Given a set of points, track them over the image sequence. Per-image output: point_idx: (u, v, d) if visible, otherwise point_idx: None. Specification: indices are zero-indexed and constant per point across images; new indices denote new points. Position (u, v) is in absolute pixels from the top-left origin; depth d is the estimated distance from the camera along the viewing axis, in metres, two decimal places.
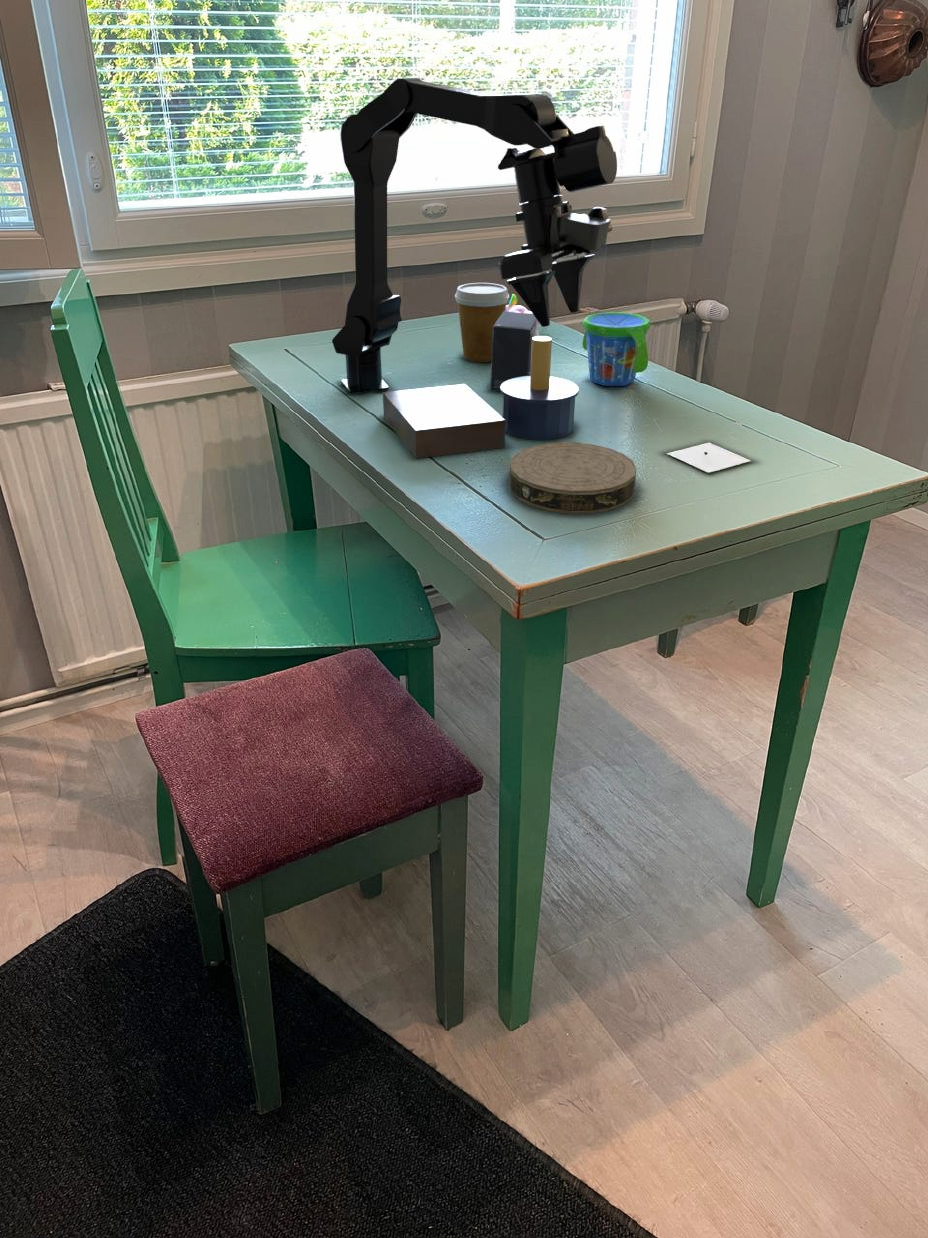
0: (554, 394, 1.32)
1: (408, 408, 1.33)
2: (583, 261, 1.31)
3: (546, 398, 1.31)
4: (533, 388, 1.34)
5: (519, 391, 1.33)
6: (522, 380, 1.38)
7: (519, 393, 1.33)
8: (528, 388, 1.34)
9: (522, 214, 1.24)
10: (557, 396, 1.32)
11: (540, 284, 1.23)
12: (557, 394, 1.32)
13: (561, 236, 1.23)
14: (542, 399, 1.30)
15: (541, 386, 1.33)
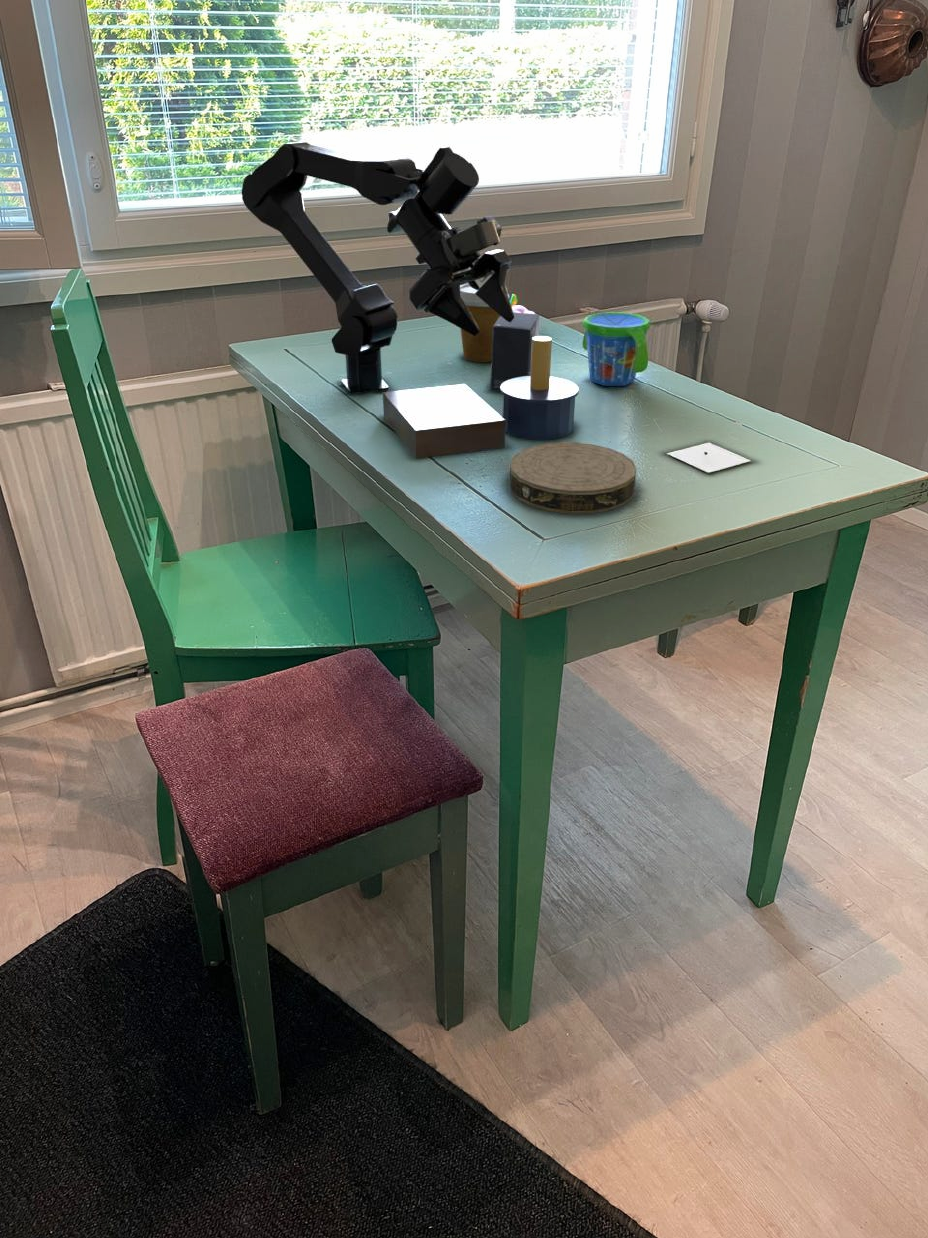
0: (554, 394, 1.32)
1: (408, 408, 1.33)
2: (498, 272, 1.36)
3: (546, 398, 1.31)
4: (533, 388, 1.34)
5: (519, 391, 1.33)
6: (522, 380, 1.38)
7: (519, 393, 1.33)
8: (528, 388, 1.34)
9: (420, 255, 1.34)
10: (557, 396, 1.32)
11: (451, 297, 1.29)
12: (557, 394, 1.32)
13: (455, 252, 1.30)
14: (542, 399, 1.30)
15: (541, 386, 1.33)
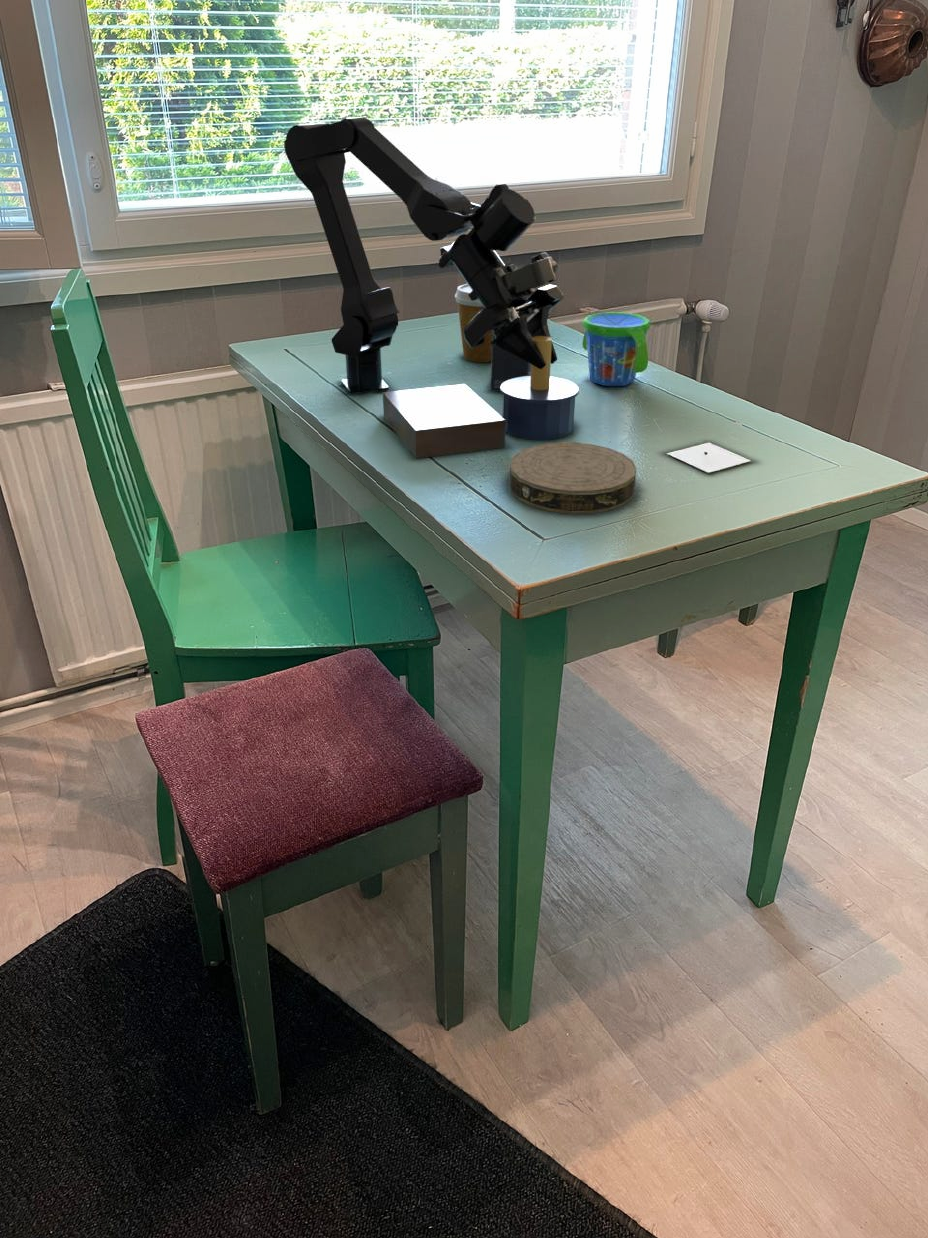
0: (554, 394, 1.32)
1: (408, 408, 1.33)
2: (540, 313, 1.32)
3: (546, 398, 1.31)
4: (533, 388, 1.34)
5: (519, 391, 1.33)
6: (522, 380, 1.38)
7: (519, 393, 1.33)
8: (528, 388, 1.35)
9: (473, 292, 1.31)
10: (557, 396, 1.32)
11: (518, 331, 1.29)
12: (557, 394, 1.32)
13: (510, 289, 1.28)
14: (542, 399, 1.30)
15: (541, 386, 1.33)
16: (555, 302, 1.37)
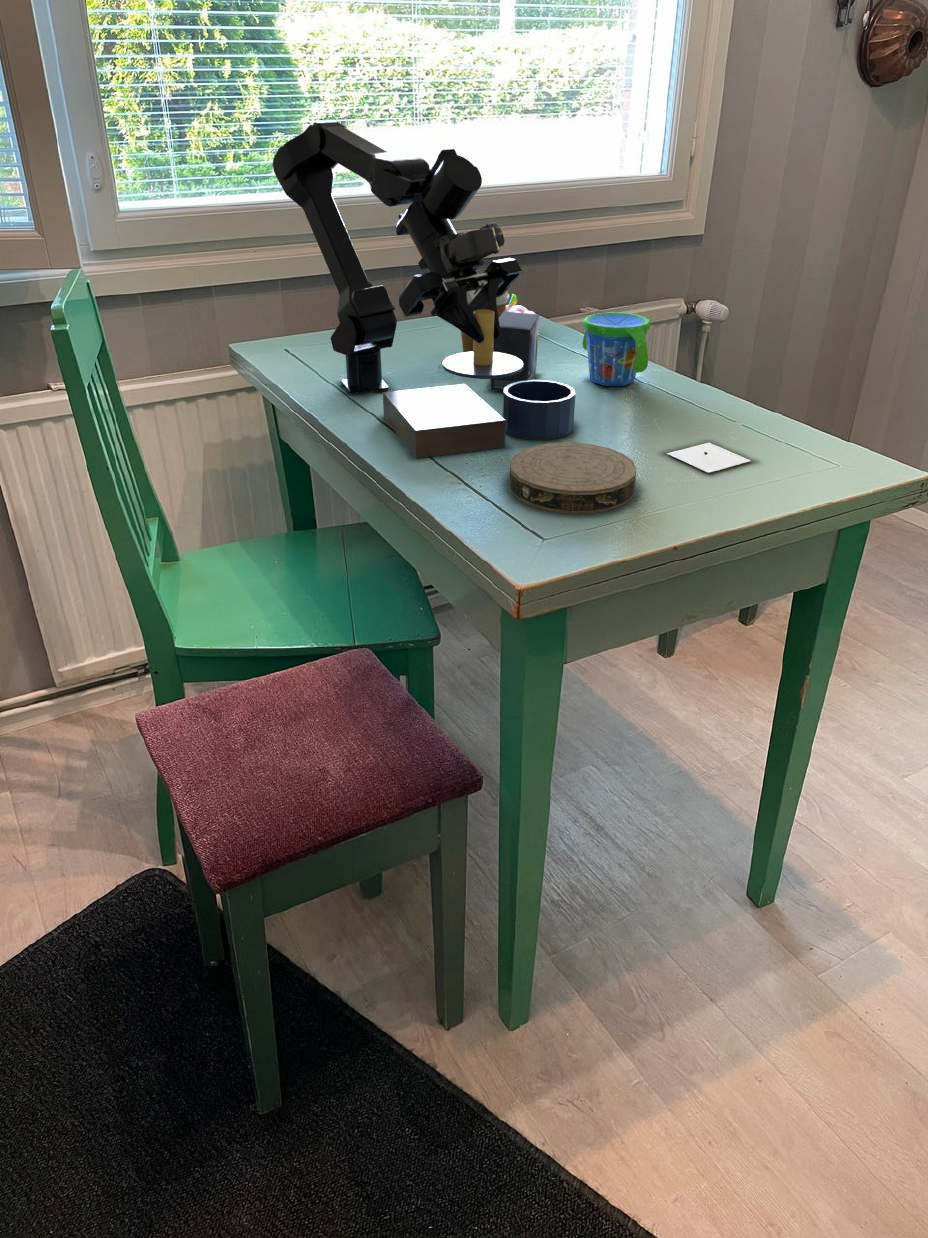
0: (491, 370, 1.28)
1: (408, 408, 1.33)
2: (487, 285, 1.28)
3: (480, 373, 1.27)
4: (474, 363, 1.30)
5: (459, 365, 1.30)
6: (472, 355, 1.34)
7: (457, 366, 1.29)
8: (470, 362, 1.31)
9: (422, 260, 1.29)
10: (492, 372, 1.27)
11: (456, 302, 1.26)
12: (494, 370, 1.28)
13: (451, 258, 1.25)
14: (475, 374, 1.26)
15: (482, 361, 1.30)
16: (514, 276, 1.33)
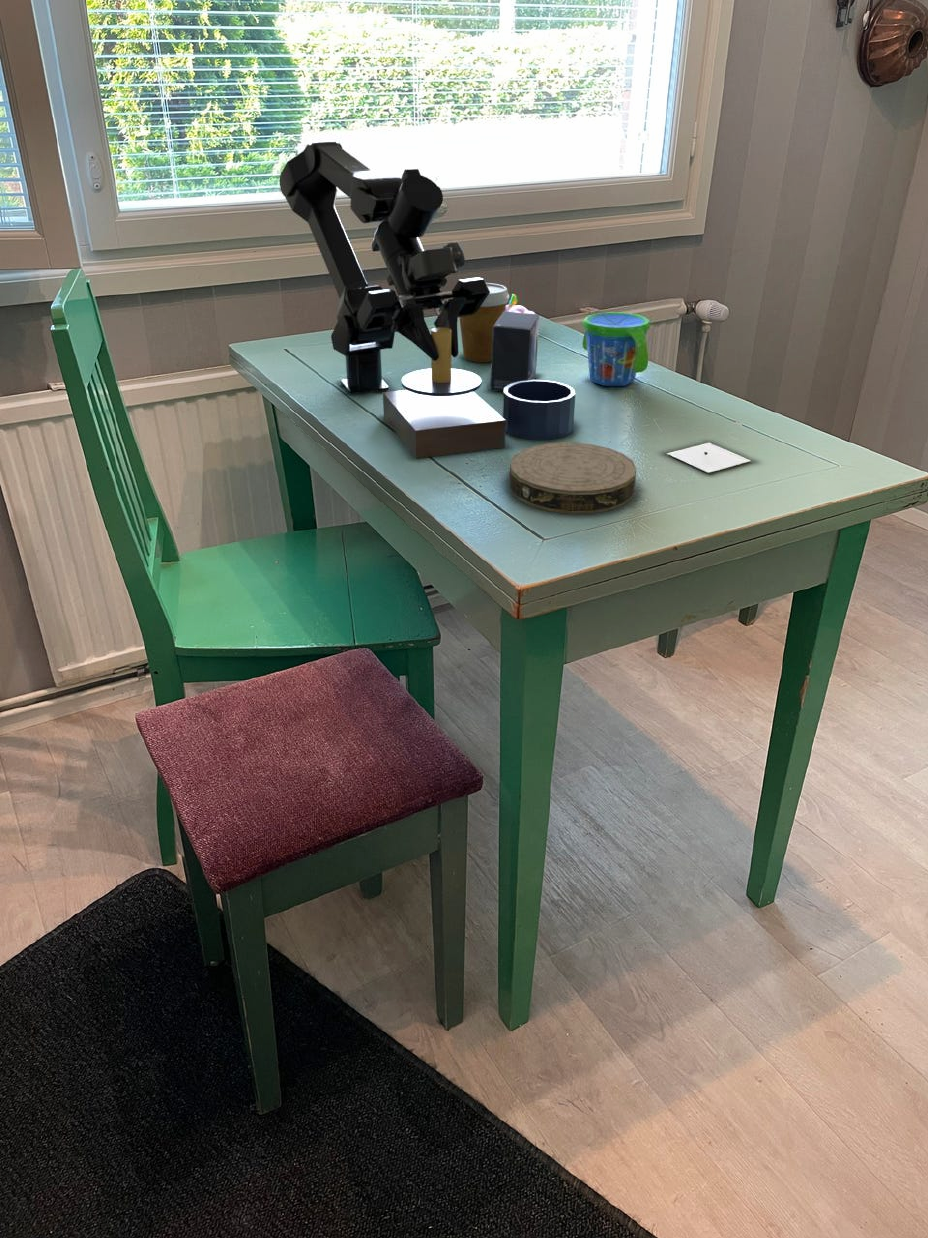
0: (444, 388, 1.29)
1: (408, 408, 1.33)
2: (448, 304, 1.29)
3: (431, 390, 1.28)
4: (432, 380, 1.32)
5: (416, 381, 1.32)
6: None
7: (413, 382, 1.31)
8: (429, 379, 1.32)
9: (389, 276, 1.32)
10: (444, 390, 1.28)
11: (412, 319, 1.27)
12: (447, 388, 1.29)
13: (409, 276, 1.26)
14: (425, 391, 1.28)
15: (438, 378, 1.31)
16: (482, 296, 1.33)
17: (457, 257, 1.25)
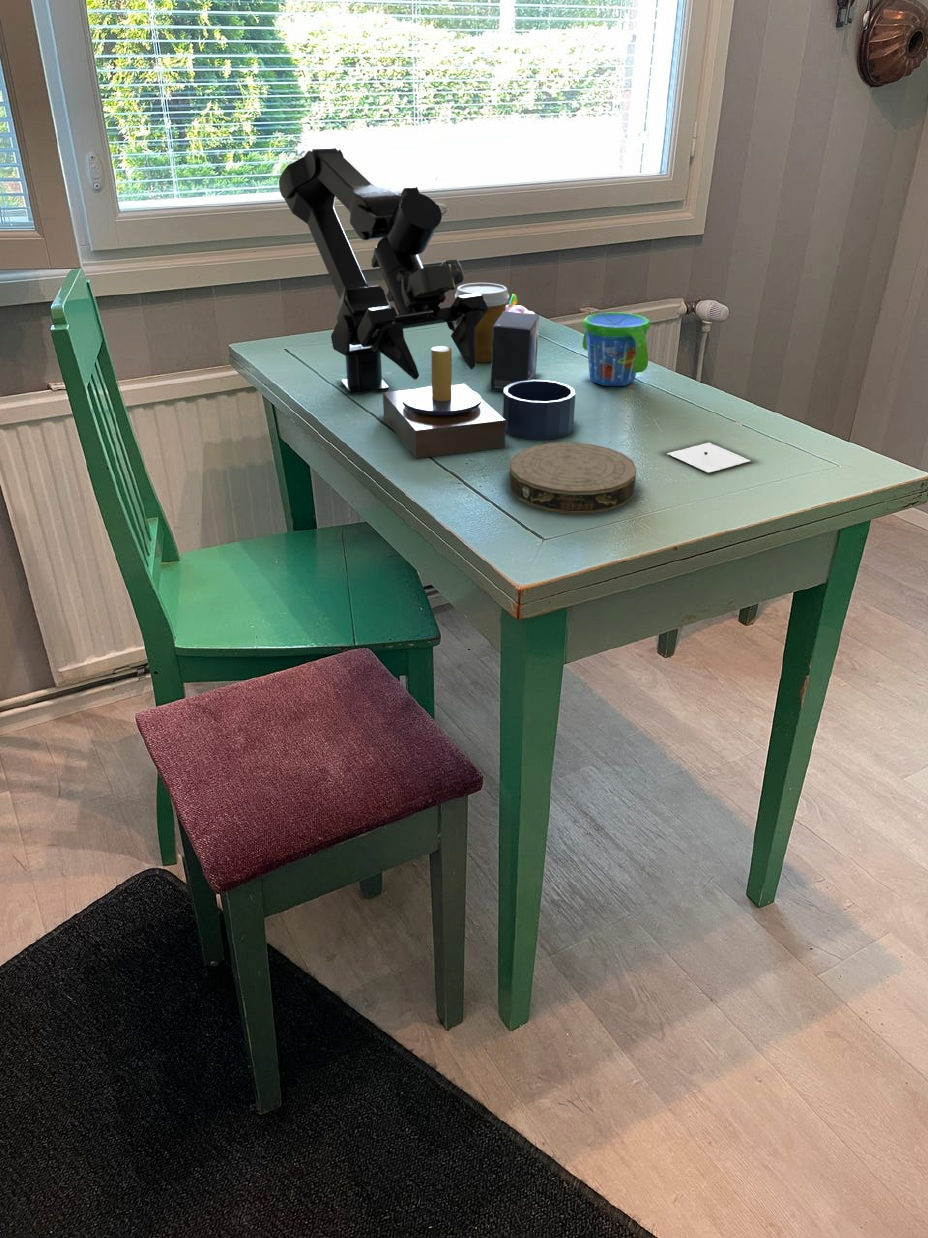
0: (444, 406, 1.30)
1: None
2: (465, 317, 1.32)
3: (431, 409, 1.29)
4: (432, 398, 1.33)
5: (417, 399, 1.33)
6: None
7: (414, 401, 1.32)
8: (430, 397, 1.34)
9: (389, 292, 1.33)
10: (444, 408, 1.30)
11: (392, 338, 1.27)
12: (447, 406, 1.30)
13: (409, 293, 1.28)
14: (425, 409, 1.29)
15: (438, 397, 1.32)
16: (481, 311, 1.34)
17: (456, 274, 1.26)
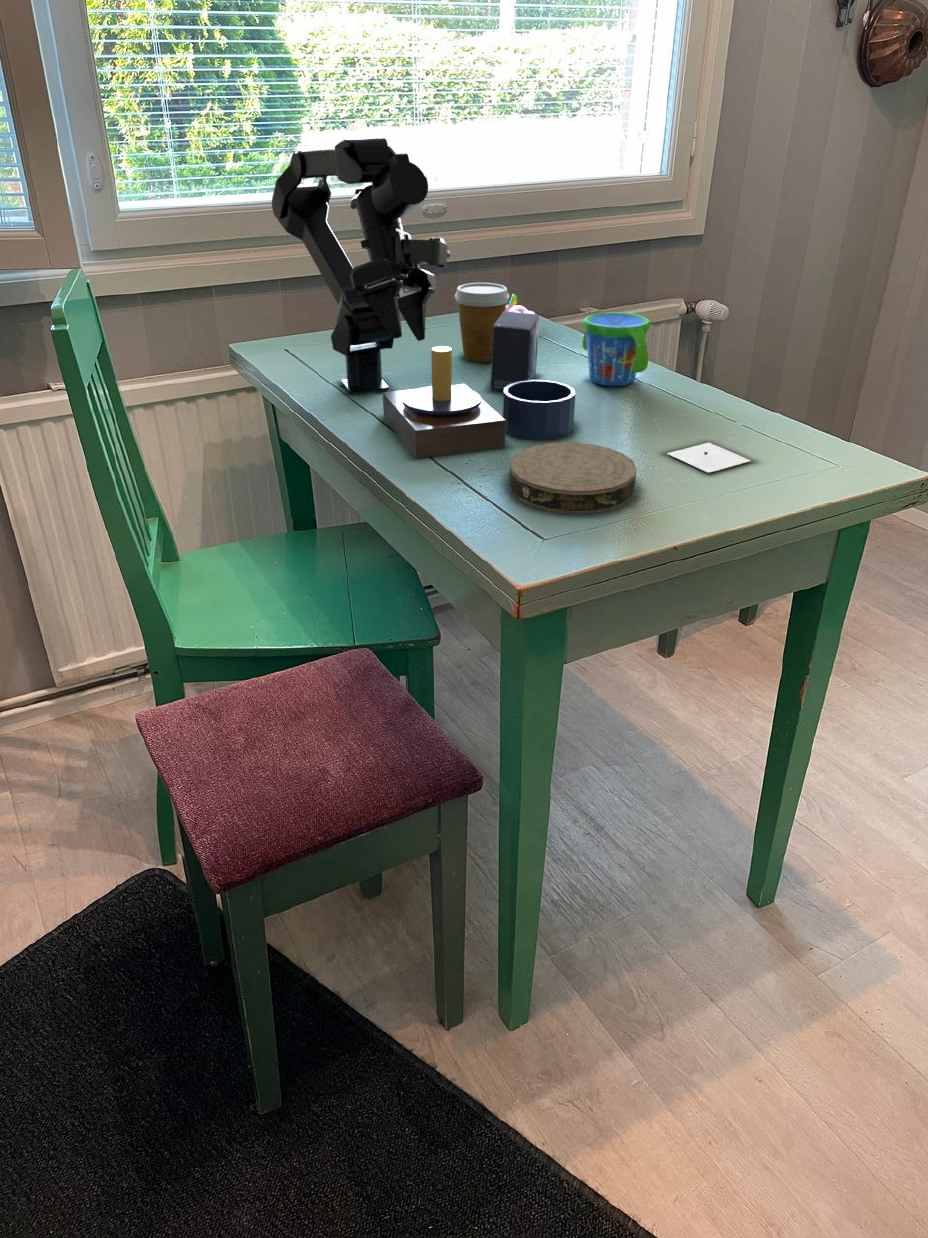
0: (444, 406, 1.30)
1: None
2: (425, 292, 1.40)
3: (431, 409, 1.29)
4: (432, 398, 1.33)
5: (417, 399, 1.33)
6: None
7: (414, 401, 1.32)
8: (430, 397, 1.34)
9: (367, 240, 1.34)
10: (444, 408, 1.30)
11: (390, 293, 1.30)
12: (447, 406, 1.30)
13: (406, 254, 1.32)
14: (425, 409, 1.29)
15: (438, 397, 1.32)
16: (426, 289, 1.44)
17: (448, 255, 1.35)
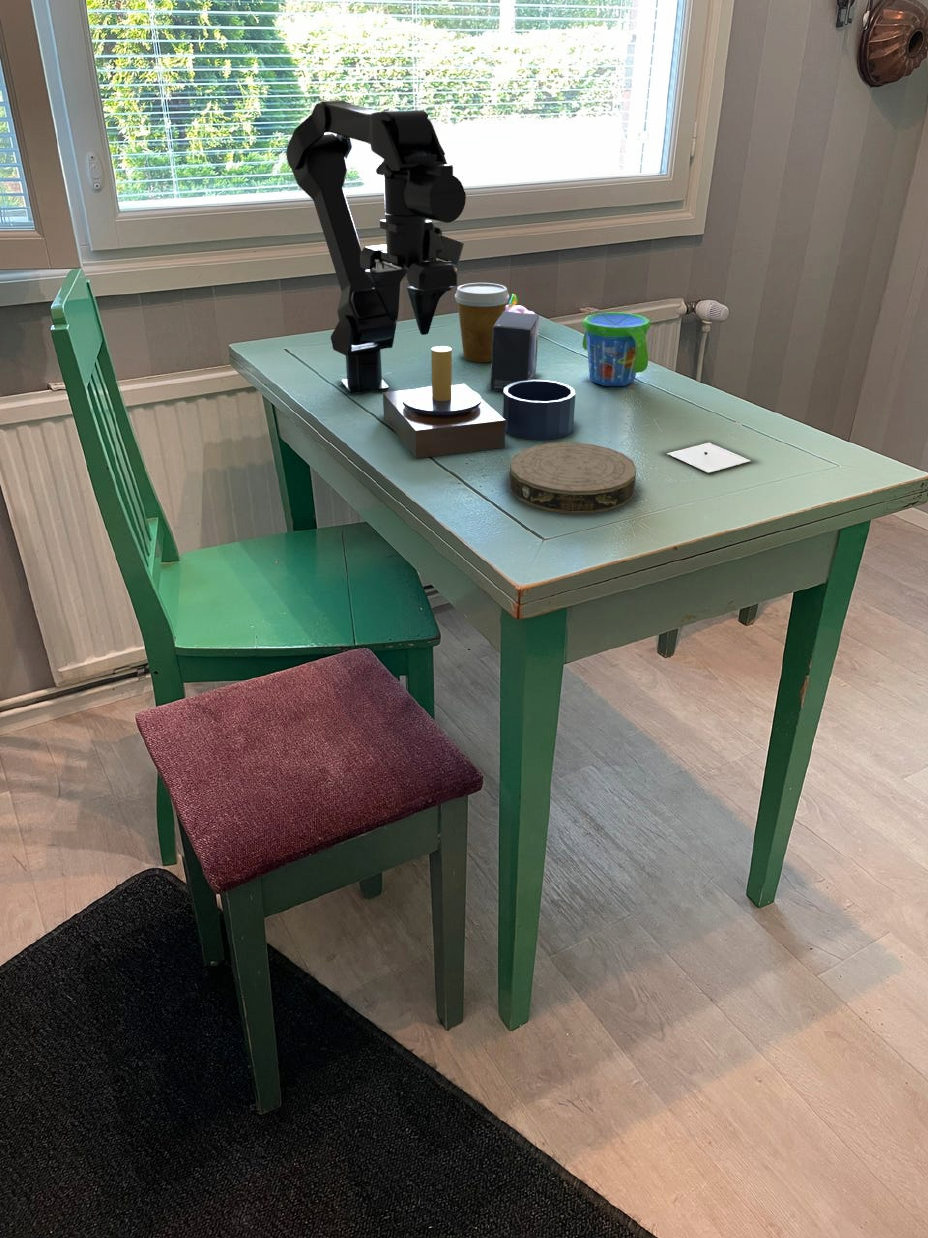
0: (444, 406, 1.30)
1: None
2: (404, 273, 1.39)
3: (431, 409, 1.29)
4: (432, 398, 1.33)
5: (417, 399, 1.33)
6: None
7: (414, 401, 1.32)
8: (430, 397, 1.34)
9: (403, 226, 1.28)
10: (444, 408, 1.30)
11: (438, 295, 1.31)
12: (447, 406, 1.30)
13: (437, 250, 1.32)
14: (425, 409, 1.29)
15: (438, 397, 1.32)
16: None
17: None
